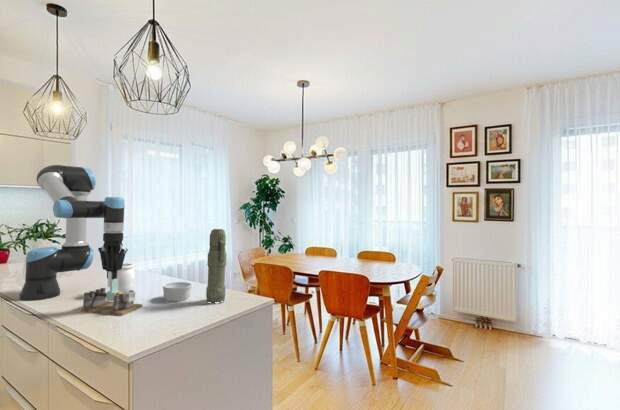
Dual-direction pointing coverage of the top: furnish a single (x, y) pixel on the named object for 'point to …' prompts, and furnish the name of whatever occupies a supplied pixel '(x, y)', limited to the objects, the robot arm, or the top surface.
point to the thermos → (216, 266)
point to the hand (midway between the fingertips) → (111, 286)
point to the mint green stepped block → (112, 290)
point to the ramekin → (177, 291)
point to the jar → (126, 277)
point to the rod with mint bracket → (109, 303)
